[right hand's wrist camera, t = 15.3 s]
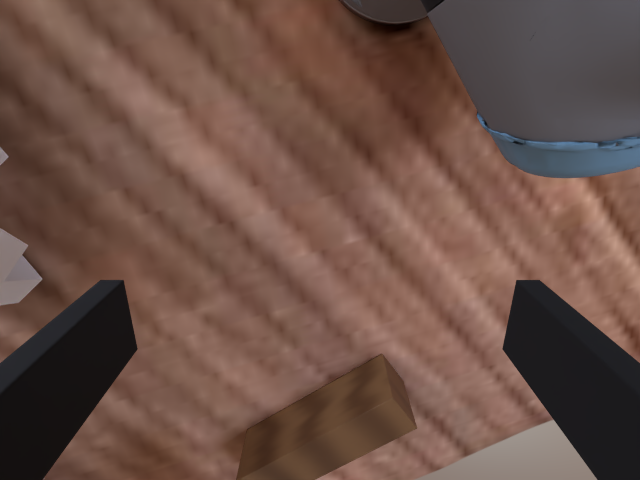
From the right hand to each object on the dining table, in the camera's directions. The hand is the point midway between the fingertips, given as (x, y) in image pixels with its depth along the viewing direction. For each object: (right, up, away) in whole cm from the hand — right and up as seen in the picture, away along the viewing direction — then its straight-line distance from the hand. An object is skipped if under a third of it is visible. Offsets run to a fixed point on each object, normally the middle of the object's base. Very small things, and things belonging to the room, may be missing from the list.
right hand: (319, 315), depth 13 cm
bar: (0, -21, +41) cm, 46 cm away
